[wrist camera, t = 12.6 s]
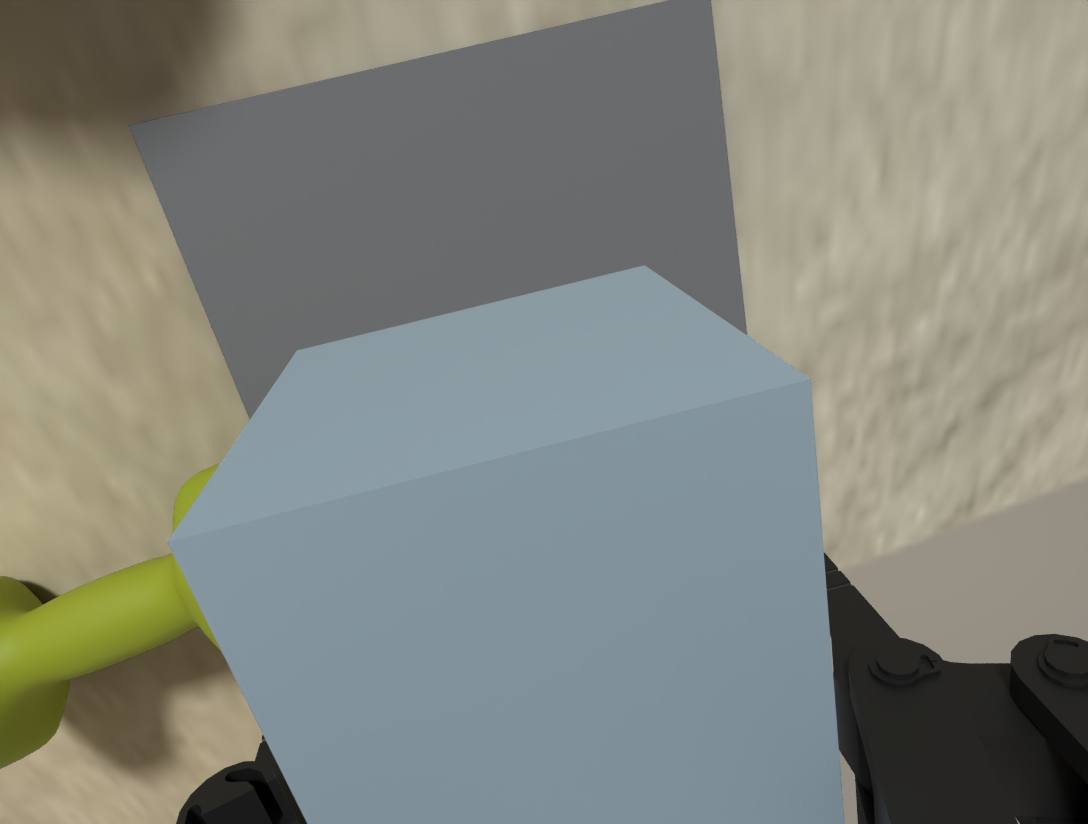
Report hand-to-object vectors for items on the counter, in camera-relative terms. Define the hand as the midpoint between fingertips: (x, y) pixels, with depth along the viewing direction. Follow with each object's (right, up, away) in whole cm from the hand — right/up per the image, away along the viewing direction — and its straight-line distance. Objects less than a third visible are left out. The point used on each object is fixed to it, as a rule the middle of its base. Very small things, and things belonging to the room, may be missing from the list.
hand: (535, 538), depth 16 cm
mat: (-2, +5, +12) cm, 14 cm away
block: (+2, -9, -2) cm, 9 cm away
